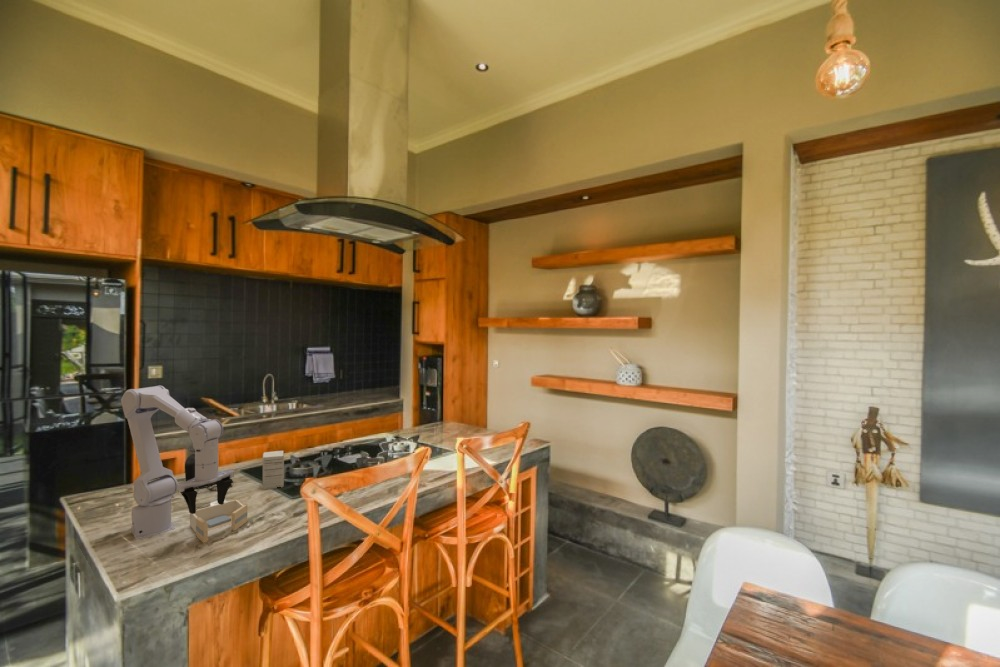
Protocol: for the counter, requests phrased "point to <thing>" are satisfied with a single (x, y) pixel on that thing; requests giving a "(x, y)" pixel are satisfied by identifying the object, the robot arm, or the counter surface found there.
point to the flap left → (202, 529)
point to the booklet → (218, 521)
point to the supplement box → (273, 469)
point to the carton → (215, 513)
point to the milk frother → (193, 468)
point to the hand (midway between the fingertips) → (206, 508)
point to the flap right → (239, 517)
